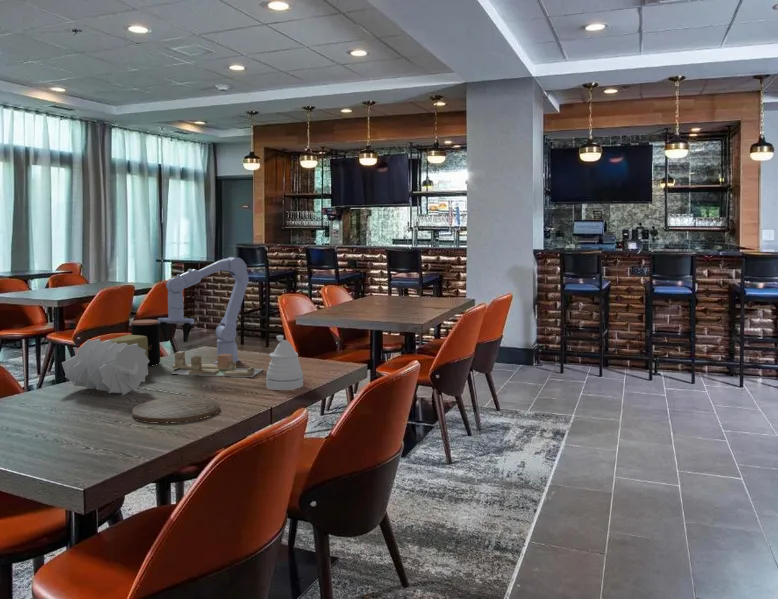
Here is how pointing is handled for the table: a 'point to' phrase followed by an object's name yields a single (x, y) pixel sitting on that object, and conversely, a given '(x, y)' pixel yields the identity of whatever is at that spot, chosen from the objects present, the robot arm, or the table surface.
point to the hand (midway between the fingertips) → (176, 341)
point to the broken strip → (197, 369)
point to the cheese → (133, 341)
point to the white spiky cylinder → (107, 366)
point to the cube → (224, 360)
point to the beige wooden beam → (181, 364)
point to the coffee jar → (149, 337)
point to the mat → (220, 373)
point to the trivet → (175, 409)
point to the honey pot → (284, 368)
